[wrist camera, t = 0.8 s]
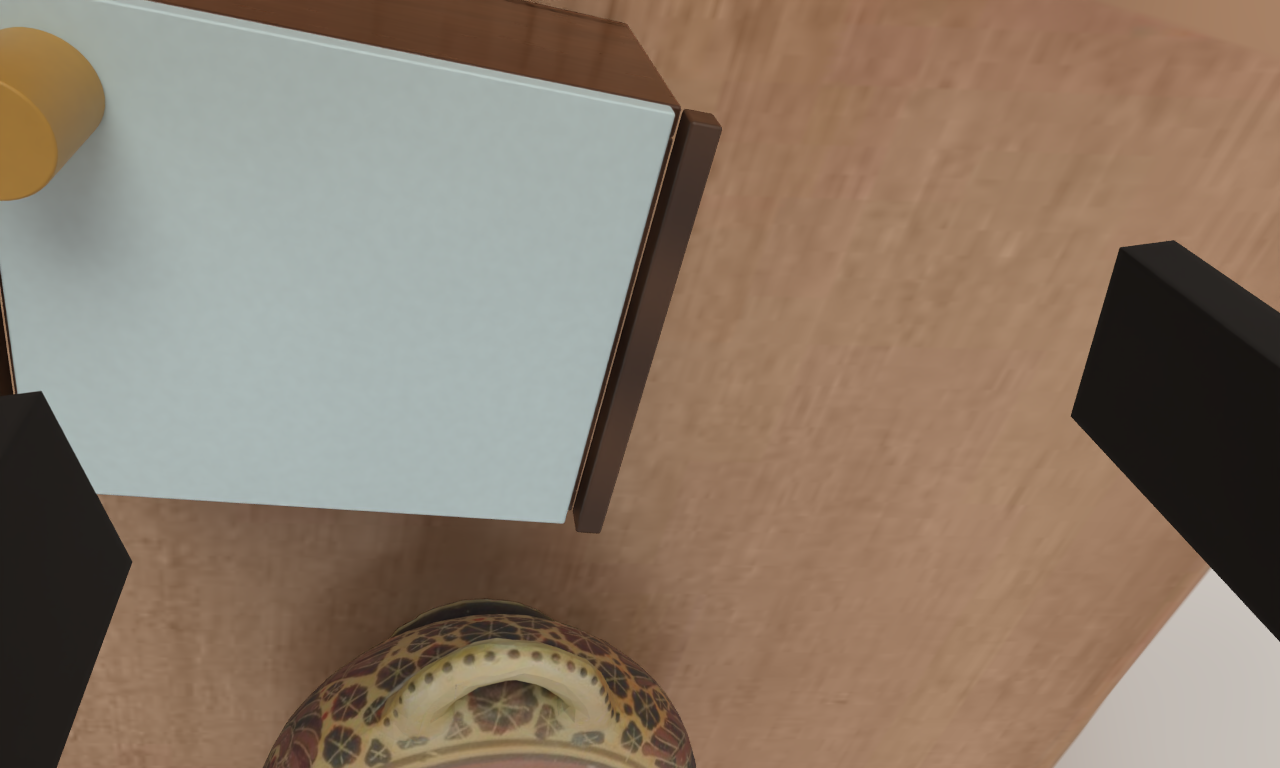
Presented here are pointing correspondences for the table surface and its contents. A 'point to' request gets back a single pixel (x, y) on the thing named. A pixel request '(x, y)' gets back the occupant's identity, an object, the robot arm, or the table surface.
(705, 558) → the table surface
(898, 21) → the table surface
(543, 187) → the pale blue square panel
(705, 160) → the wooden box
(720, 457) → the table surface
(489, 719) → the ceramic bowl
